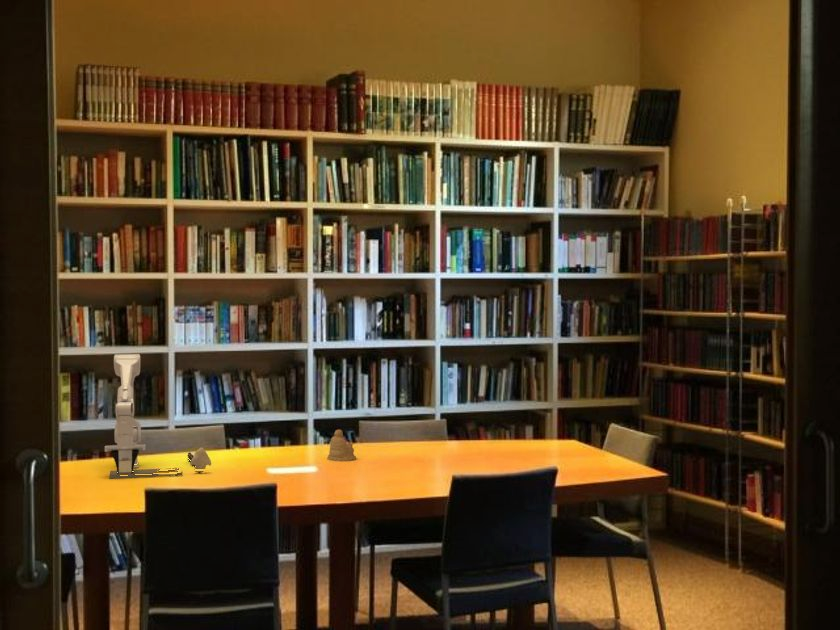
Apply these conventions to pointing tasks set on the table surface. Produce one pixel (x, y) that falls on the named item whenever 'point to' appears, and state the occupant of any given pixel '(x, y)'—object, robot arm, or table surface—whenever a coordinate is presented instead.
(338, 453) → the statue
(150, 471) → the grey slotted panel
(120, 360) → the robot arm
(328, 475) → the table surface
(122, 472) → the wood-topped square block
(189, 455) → the dark labeled box
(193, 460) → the arrowhead
